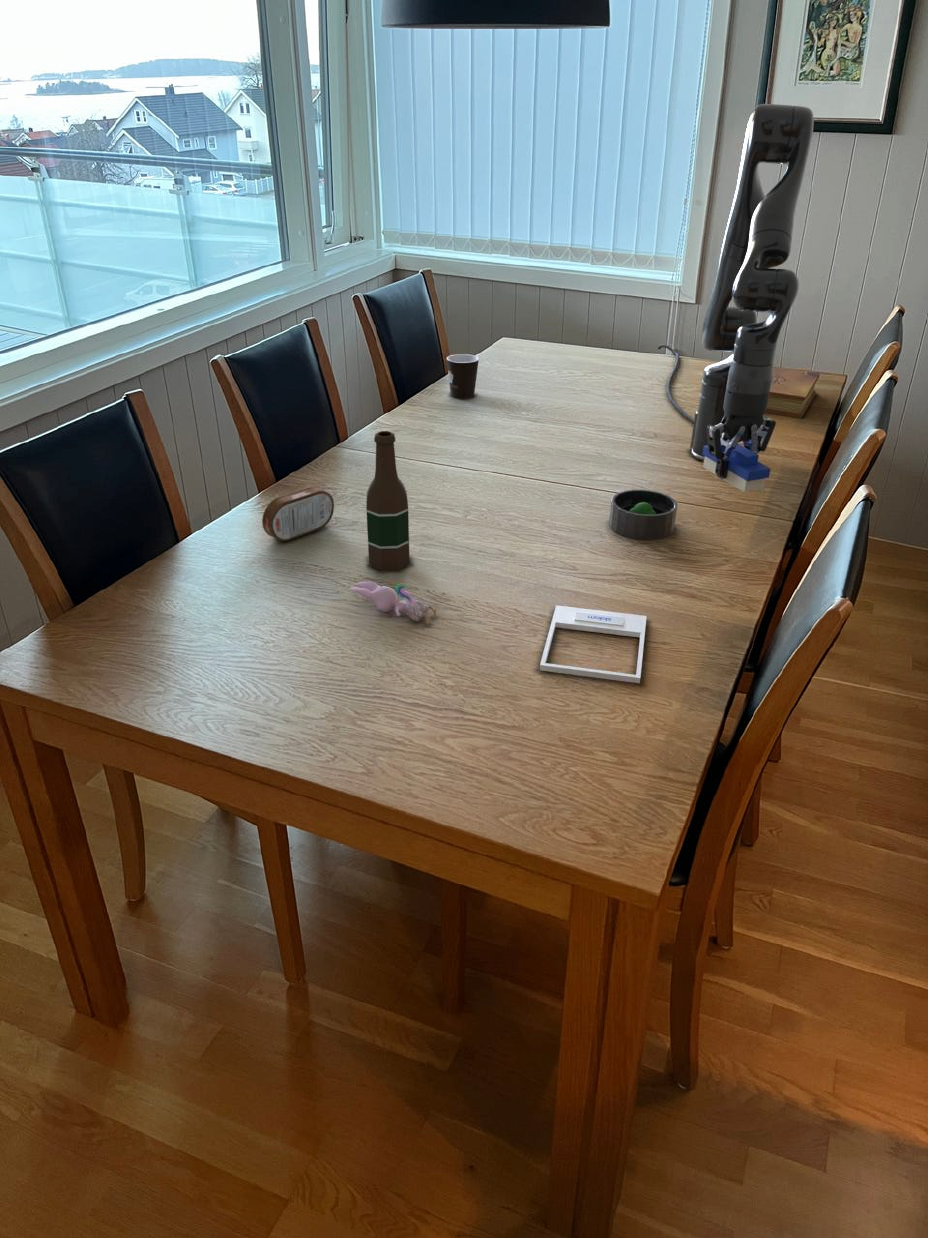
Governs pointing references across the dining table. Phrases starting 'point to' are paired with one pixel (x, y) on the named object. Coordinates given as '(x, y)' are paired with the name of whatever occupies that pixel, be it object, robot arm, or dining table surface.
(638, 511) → the broccoli floret
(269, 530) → the tin
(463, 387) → the coffee mug
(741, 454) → the brush
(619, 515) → the bowl
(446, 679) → the dining table surface
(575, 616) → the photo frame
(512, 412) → the dining table surface
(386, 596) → the rabbit figure
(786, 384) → the diary
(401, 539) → the beer bottle
